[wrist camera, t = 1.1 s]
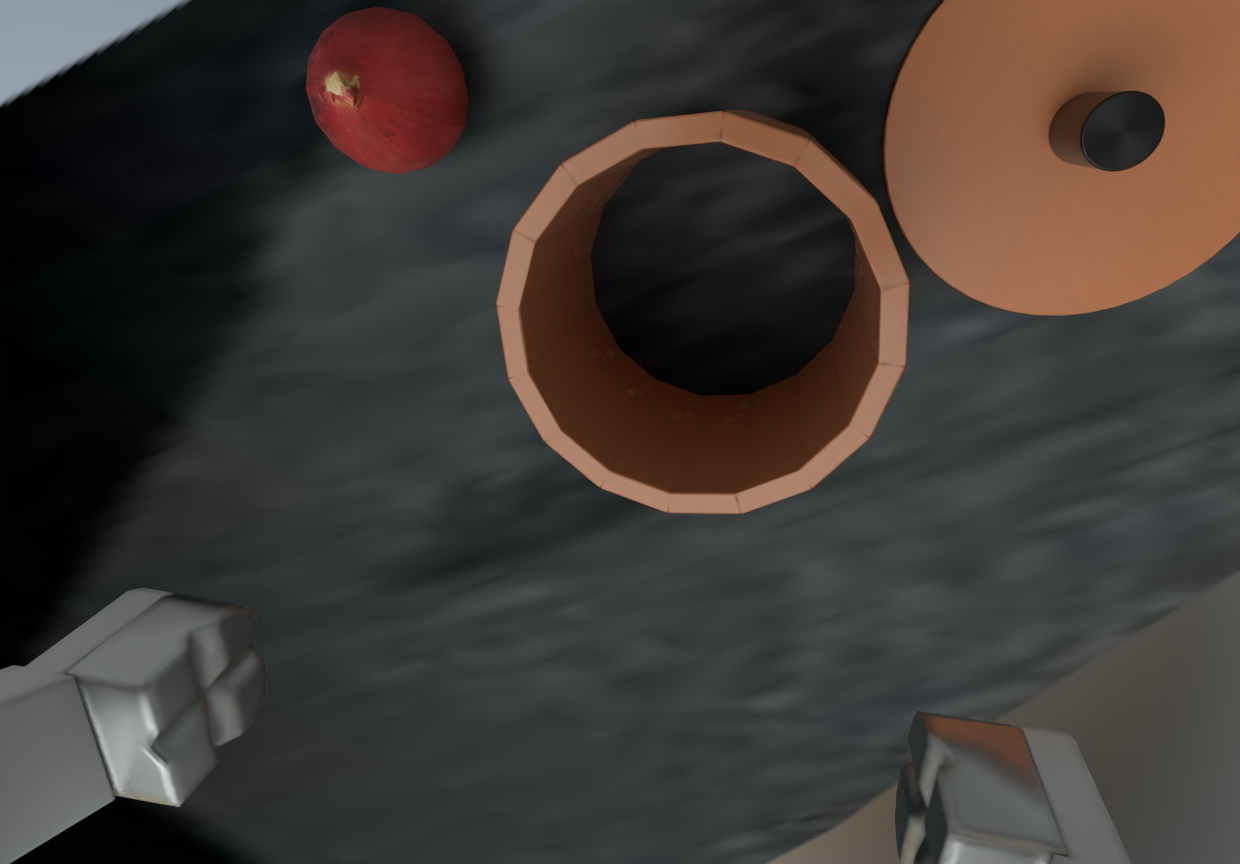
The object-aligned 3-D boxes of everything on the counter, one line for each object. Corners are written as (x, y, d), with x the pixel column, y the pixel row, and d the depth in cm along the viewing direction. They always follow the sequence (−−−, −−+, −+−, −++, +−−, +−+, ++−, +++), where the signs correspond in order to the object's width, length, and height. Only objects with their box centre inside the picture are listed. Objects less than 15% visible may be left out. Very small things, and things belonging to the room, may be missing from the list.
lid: (825, 47, 29) (831, 37, 25) (1237, -186, 24) (1331, -247, 20) (951, 361, 33) (975, 399, 28) (1332, 211, 28) (1429, 230, 24)
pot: (529, 202, 34) (427, 241, 24) (799, 48, 29) (803, 20, 20) (658, 444, 37) (612, 560, 28) (918, 337, 33) (971, 432, 23)
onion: (387, 179, 34) (280, 190, 27) (352, 38, 33) (226, 10, 25) (508, 156, 33) (429, 162, 26) (478, 8, 31) (383, -32, 24)
